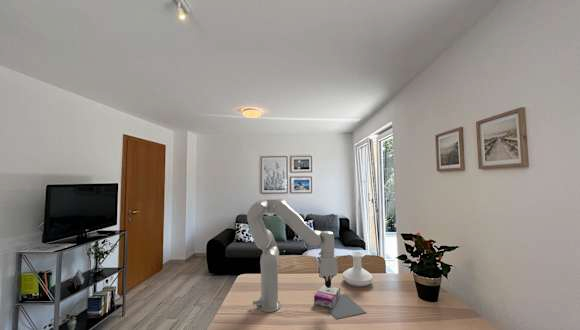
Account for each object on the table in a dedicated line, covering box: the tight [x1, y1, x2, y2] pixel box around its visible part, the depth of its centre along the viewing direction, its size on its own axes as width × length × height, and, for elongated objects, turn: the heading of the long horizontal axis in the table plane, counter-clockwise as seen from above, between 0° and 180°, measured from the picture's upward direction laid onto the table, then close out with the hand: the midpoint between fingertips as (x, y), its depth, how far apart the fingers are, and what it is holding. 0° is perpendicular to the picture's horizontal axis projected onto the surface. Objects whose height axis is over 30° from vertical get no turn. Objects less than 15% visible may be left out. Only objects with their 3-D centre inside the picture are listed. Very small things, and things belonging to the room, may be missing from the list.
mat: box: [325, 293, 367, 320], centre depth 139 cm, size 18×22×1 cm
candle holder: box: [342, 251, 373, 288], centre depth 169 cm, size 20×20×19 cm
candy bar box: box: [313, 284, 341, 308], centre depth 144 cm, size 11×5×16 cm
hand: (328, 286), depth 137 cm, fingers closed
